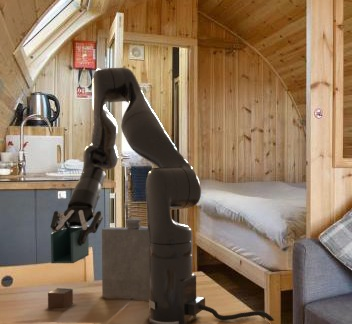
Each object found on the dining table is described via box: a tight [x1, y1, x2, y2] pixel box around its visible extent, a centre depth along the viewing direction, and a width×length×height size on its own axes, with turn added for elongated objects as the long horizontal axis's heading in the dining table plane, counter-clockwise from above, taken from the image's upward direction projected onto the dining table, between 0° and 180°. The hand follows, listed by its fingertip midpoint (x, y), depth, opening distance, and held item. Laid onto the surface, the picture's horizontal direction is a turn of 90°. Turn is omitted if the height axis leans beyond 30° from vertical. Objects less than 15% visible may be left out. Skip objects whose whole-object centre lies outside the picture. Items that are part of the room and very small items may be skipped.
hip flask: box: [101, 217, 150, 302], centre depth 116 cm, size 16×4×20 cm, turn 81°
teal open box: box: [50, 226, 90, 264], centre depth 127 cm, size 10×6×8 cm, turn 177°
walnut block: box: [47, 287, 74, 310], centre depth 109 cm, size 4×4×4 cm
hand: (67, 243), depth 125 cm, fingers closed on teal open box, 6 cm apart
